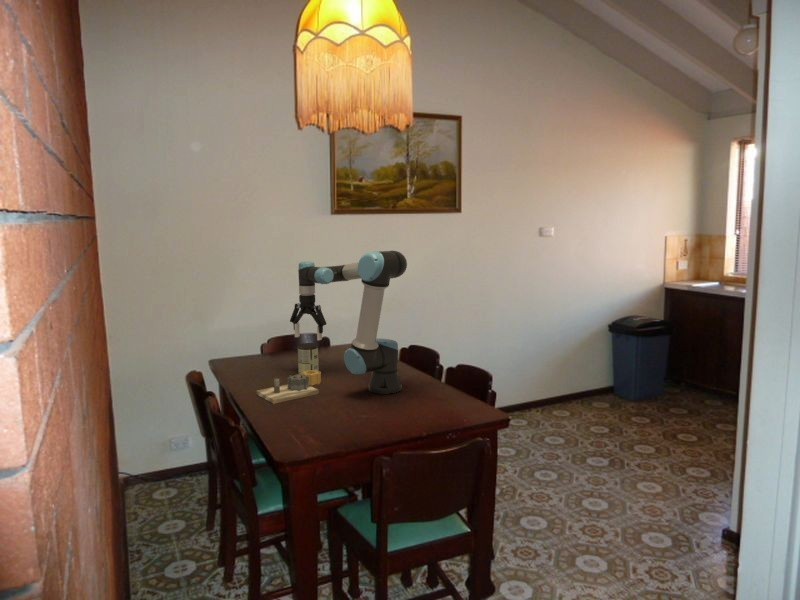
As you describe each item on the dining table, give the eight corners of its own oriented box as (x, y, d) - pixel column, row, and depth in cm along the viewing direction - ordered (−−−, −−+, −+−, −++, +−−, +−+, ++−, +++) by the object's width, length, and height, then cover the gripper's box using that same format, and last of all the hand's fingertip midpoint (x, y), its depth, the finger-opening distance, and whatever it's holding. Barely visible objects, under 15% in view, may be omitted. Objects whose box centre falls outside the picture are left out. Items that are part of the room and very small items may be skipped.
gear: (324, 383, 272) (323, 372, 272) (307, 386, 267) (307, 376, 266) (314, 378, 279) (314, 368, 278) (297, 382, 274) (297, 371, 273)
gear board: (318, 393, 256) (318, 376, 255) (273, 403, 242) (273, 385, 241) (300, 385, 268) (300, 369, 267) (256, 394, 255) (256, 377, 254)
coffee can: (301, 369, 296) (300, 342, 294) (321, 370, 295) (320, 343, 293) (295, 375, 286) (295, 347, 284) (316, 375, 285) (315, 347, 283)
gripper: (333, 295, 271) (334, 339, 274) (292, 291, 283) (293, 334, 286) (323, 297, 265) (324, 342, 267) (281, 293, 277) (283, 337, 280)
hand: (308, 338), depth 277 cm, fingers open, 13 cm apart
